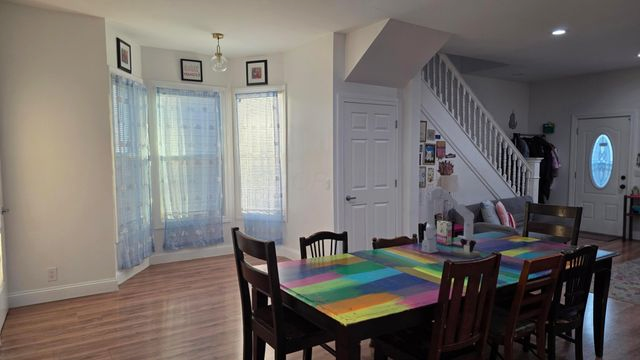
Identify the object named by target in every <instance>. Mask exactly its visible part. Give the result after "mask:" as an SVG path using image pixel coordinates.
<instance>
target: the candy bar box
mask: <svg viewBox="0 0 640 360" xmlns="http://www.w3.org/2000/svg"><path fill="white" fill-rule="evenodd" d="M436 230H437V234H436V244H440V245H445V246H451V245H452V240H453V239H452V232H453V222H451V221H448V220H447V221H446V220H441V219H440V220H437V221H436Z"/></svg>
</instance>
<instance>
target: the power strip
mask: <svg viewBox="0 0 640 360" xmlns="http://www.w3.org/2000/svg"><path fill="white" fill-rule="evenodd" d="M450 255H453V256H456V257H462V258H465V259H469V258H470V259H473V258H477V257H480V256H481V252H480V251H475V250H473V253H471V254H467V253H464V250H463V248H457V249H454V250H451V251H450Z"/></svg>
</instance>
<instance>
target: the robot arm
mask: <svg viewBox="0 0 640 360" xmlns="http://www.w3.org/2000/svg"><path fill="white" fill-rule="evenodd" d="M439 197H440V198H441V199H444V200H445V199H446V201H447V202H449V203H450V204H451V205H452V206H453V207H454V210H455V211H456V212H457V213H458V214H459V215H460V216H461V217H463V220H464V222H463V235H457V239H459V242H460V243H461V246H462V249H463V250H464V245H465V244H469V245H470V252H473V251H474V248H475V245H476V244H477V243H480V238H477V237H474V219H475V215H474V213H473V211H471V210H470V209H468V208H466V207H465V206H466V205H465V204H463V203H459V202H458V201H457V200H456V199H455V198H454V197H453V196H452V195H451V194H450V193H449V192H448V190H446V189H444V188H443V186H437V187H435V188H433V189H431V190H430V192H429V194H428V195H427V197H426V227H425V232H424V239H423V240H422V242H421V249H420V251H421V252H423V253H427V254H433V253H437V252H439V250H440V249H439V250H438V249H437V242H436V238H437V227H436V221H435V218H436V217H435V201H436V200H437V199H438V198H439Z"/></svg>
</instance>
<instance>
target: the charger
mask: <svg viewBox="0 0 640 360" xmlns="http://www.w3.org/2000/svg"><path fill="white" fill-rule="evenodd" d="M464 253H467V254H471V253H473V252H470V245H469V243H467V244H465V245H464Z"/></svg>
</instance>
